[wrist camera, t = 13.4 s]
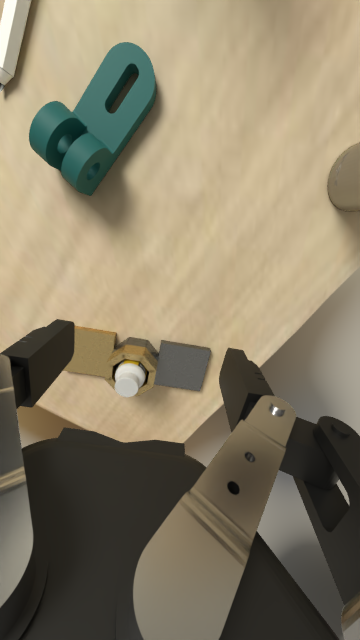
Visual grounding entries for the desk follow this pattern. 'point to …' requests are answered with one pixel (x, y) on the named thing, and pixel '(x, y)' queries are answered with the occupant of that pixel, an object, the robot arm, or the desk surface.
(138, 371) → the supplement bottle
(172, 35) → the desk surface
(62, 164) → the bracket
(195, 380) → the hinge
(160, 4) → the desk surface
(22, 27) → the marker
